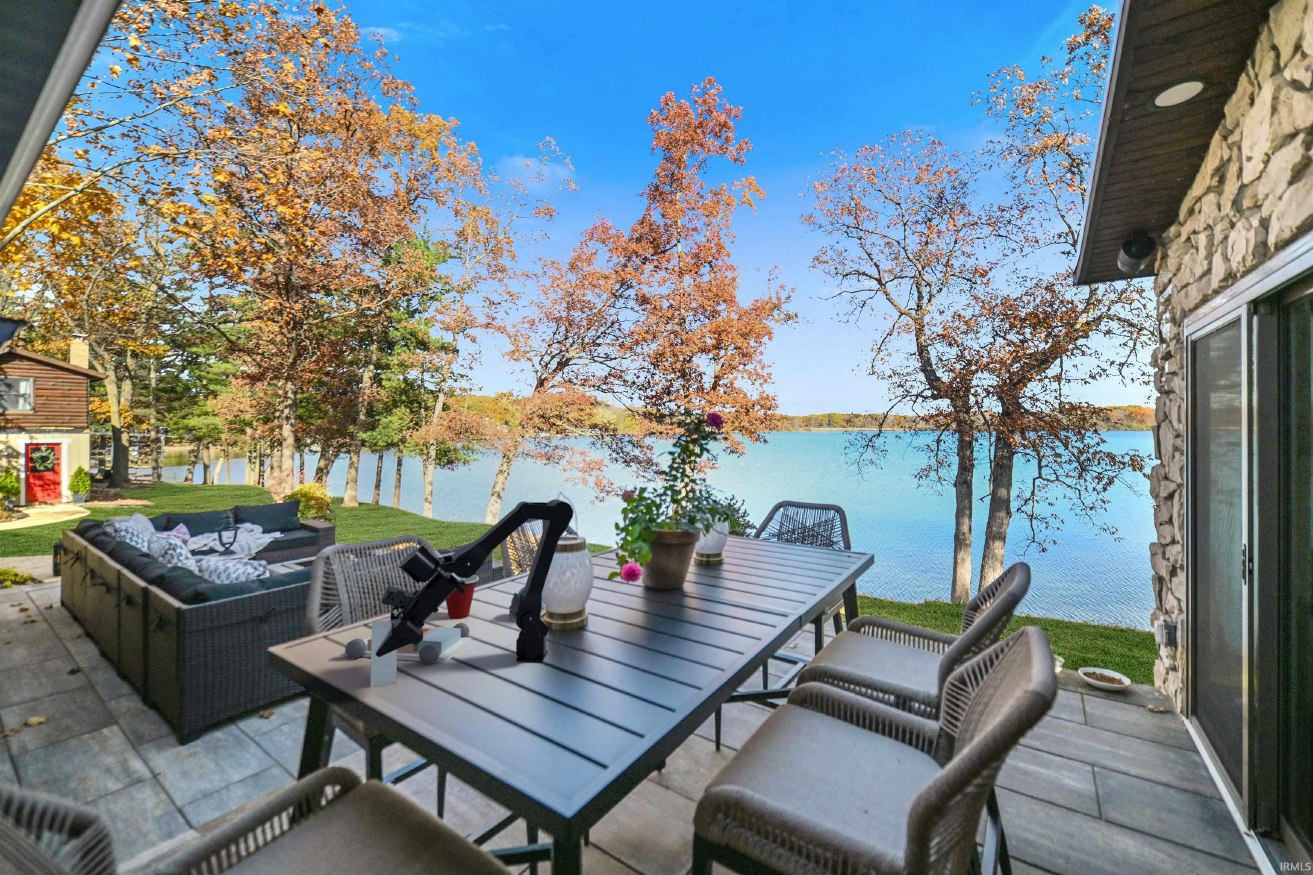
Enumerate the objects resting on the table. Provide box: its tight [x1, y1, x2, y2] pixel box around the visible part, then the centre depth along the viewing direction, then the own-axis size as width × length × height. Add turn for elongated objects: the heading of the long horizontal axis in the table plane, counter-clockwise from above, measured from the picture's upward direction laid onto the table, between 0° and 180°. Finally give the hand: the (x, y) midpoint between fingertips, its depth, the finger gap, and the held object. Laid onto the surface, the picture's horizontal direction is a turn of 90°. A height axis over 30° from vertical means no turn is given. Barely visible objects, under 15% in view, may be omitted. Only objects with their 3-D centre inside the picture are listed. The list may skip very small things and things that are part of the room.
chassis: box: [344, 622, 472, 665], centre depth 143 cm, size 26×17×4 cm, turn 83°
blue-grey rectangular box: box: [370, 619, 398, 688], centre depth 124 cm, size 5×5×12 cm
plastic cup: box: [445, 573, 480, 620], centre depth 170 cm, size 11×11×12 cm
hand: (376, 651), depth 123 cm, fingers closed on blue-grey rectangular box, 5 cm apart
